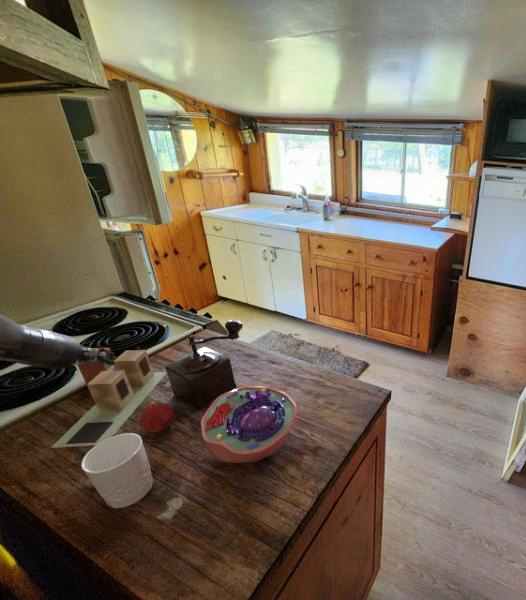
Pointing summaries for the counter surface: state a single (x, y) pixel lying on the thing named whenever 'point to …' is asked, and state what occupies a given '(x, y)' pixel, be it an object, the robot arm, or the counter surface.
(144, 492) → the white cup
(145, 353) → the maple letter far
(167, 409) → the red rounded lump
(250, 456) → the cell model
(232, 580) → the counter surface
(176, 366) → the manual coffee grinder
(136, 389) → the word mat
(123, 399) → the maple letter middle
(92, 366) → the letter block
